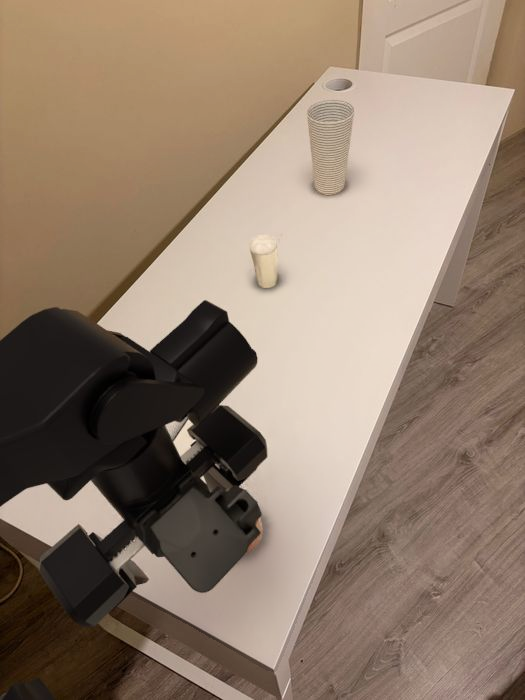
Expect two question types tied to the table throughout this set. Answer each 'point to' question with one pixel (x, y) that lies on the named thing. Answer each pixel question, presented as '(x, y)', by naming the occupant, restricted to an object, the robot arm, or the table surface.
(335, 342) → the table surface
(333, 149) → the cup
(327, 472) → the table surface
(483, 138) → the table surface
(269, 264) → the milkshake
